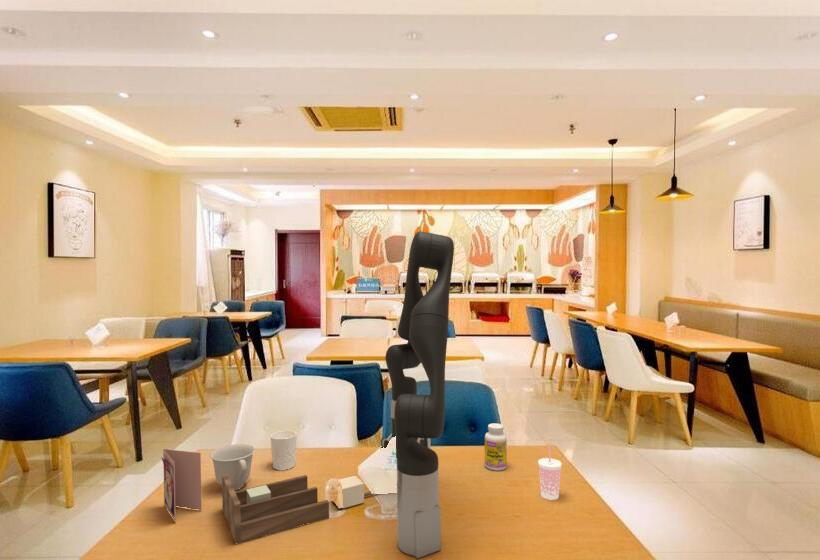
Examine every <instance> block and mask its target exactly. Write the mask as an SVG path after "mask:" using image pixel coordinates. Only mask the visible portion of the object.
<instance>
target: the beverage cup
mask: <svg viewBox="0 0 820 560" xmlns="http://www.w3.org/2000/svg"><path fill="white" fill-rule="evenodd" d="M551 445H552V444H551V443H548V457H544V458H540V459H538V461H537V465H538V471H539V484H540V496H541V497H542V498H543V499H545V500H550V501H551V500H552V501H553V500H558V499H559V498H560V486H561V485H560V483H561V482H560V481H561V470H562V465H563V464H562V462H561V461H560V460H558V459H556V458H552V457H551V455H552V454H551V447H552V446H551Z"/></svg>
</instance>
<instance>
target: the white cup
mask: <svg viewBox="0 0 820 560" xmlns="http://www.w3.org/2000/svg"><path fill="white" fill-rule="evenodd" d="M297 437H298V436H297V432H296V431H294V430H279V431H275V432H273V433H271V434H270V447H271V448H270V449H271V459H272V468H273V469H274V468H275V469H277V470H276V471H287V470H286V469H288V470H291V469H293V468H294V467H295V466H296V456H297V455H296V454H297ZM292 467H293V468H292ZM290 468H291V469H290ZM275 469H274V470H275Z"/></svg>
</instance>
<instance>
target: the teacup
mask: <svg viewBox="0 0 820 560" xmlns="http://www.w3.org/2000/svg"><path fill="white" fill-rule="evenodd" d="M255 451H256V448H255V447H254V446H253V445H250V444H244V443H243V444H242V443H240V444H239V443H238V444H237V443H236V444H229V445H225V446H221V447H219V448H216V449H215V450H213V451H212V452H211V453H210V454H209V458H210V459H211V460H212V464H213V469H214V475H215V479H216V482H217V483H218V484H219V485H221V486H222V475H224V474H227V475H228V477H229V480H230V482H231V484H232V486H233V488H234V490H235V491H237V490H236V489H238V490H240V489H239V488H241V487H242V488H244V486H245V482H246V481H247V480H248V479H249V477H250V474H251V471H252V459H253V454H254V453H255ZM243 485H244V486H243ZM242 488H241V489H242Z"/></svg>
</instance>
